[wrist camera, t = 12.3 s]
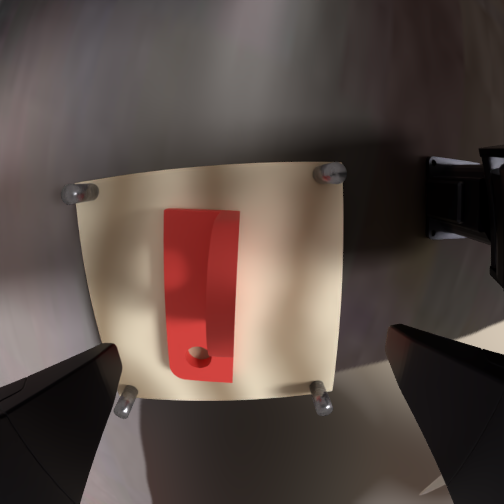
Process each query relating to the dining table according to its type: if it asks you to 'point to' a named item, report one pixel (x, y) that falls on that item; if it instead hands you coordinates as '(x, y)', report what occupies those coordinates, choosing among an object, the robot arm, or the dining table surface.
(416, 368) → the robot arm
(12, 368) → the dining table surface
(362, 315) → the dining table surface
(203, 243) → the bracket
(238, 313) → the peg board
